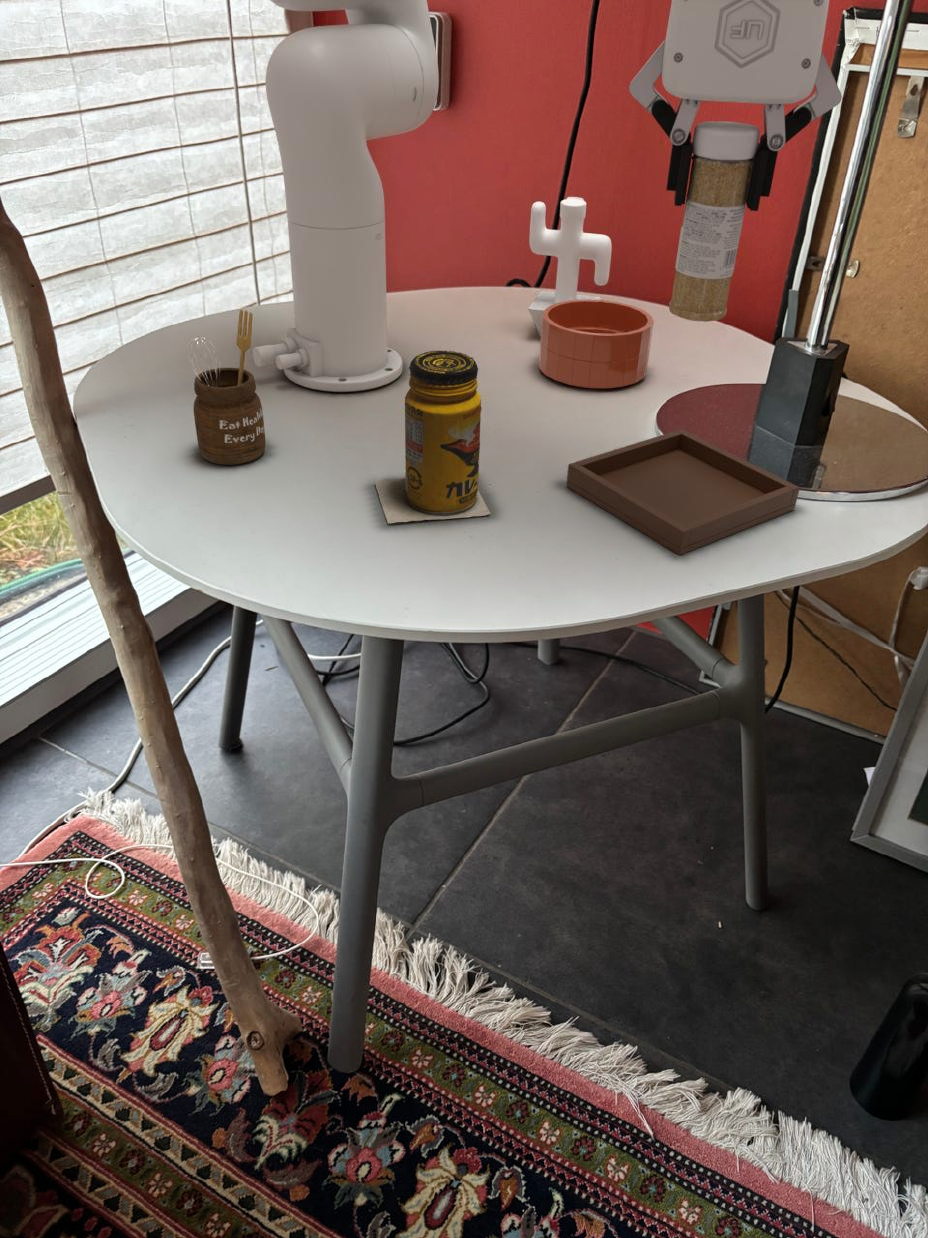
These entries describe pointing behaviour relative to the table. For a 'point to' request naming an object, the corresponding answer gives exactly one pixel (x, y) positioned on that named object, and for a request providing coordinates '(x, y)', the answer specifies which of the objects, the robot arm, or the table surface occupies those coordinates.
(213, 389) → the utensil holder
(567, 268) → the figurine
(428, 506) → the condiment
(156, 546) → the table surface
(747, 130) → the sprinkles bottle
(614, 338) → the bowl
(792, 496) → the tray
